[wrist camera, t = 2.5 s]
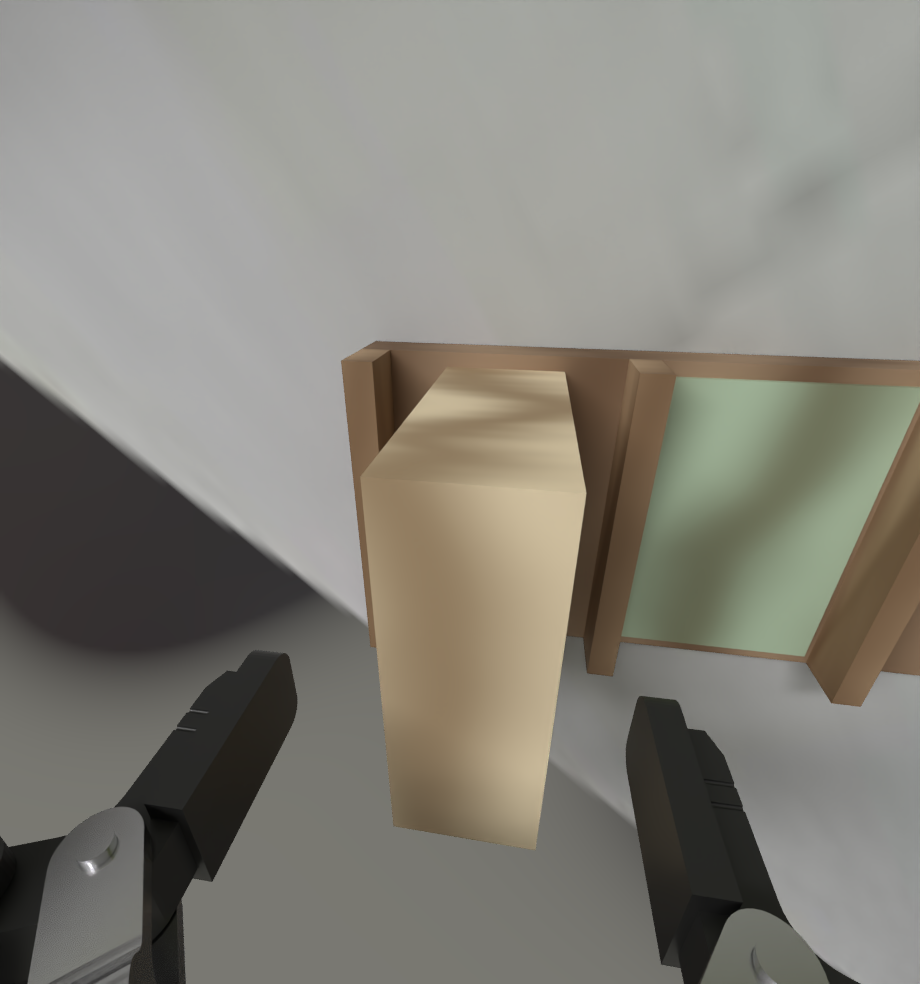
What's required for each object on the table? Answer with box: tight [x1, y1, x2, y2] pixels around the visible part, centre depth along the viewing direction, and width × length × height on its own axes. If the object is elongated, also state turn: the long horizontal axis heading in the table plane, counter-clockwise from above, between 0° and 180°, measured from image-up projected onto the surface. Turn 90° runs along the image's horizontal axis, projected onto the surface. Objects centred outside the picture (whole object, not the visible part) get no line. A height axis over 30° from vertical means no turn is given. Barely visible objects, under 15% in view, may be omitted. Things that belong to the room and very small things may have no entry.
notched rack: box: [341, 341, 920, 707], centre depth 17 cm, size 28×12×4 cm, turn 89°
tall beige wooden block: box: [360, 367, 586, 850], centre depth 15 cm, size 4×11×9 cm, turn 0°
